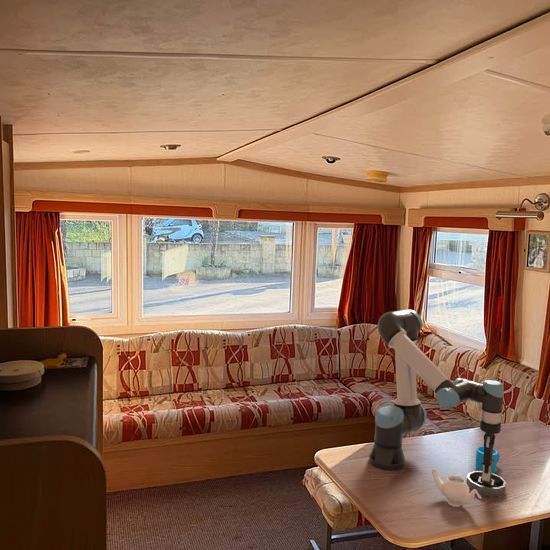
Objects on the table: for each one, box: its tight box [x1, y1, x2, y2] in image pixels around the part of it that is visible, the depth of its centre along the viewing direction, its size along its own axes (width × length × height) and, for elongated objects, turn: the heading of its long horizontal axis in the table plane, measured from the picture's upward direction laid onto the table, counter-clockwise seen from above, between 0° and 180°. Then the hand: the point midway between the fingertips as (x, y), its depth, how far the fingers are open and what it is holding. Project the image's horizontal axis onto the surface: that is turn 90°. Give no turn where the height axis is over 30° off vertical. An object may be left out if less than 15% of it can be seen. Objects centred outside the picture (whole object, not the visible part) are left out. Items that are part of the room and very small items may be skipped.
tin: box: [466, 470, 507, 498], centre depth 211 cm, size 14×14×4 cm
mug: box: [475, 446, 500, 474], centre depth 228 cm, size 12×8×8 cm
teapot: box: [431, 469, 482, 508], centre depth 198 cm, size 10×20×9 cm, turn 42°
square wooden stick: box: [482, 450, 493, 484], centre depth 210 cm, size 3×3×13 cm
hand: (486, 478), depth 210 cm, fingers closed on square wooden stick, 3 cm apart
